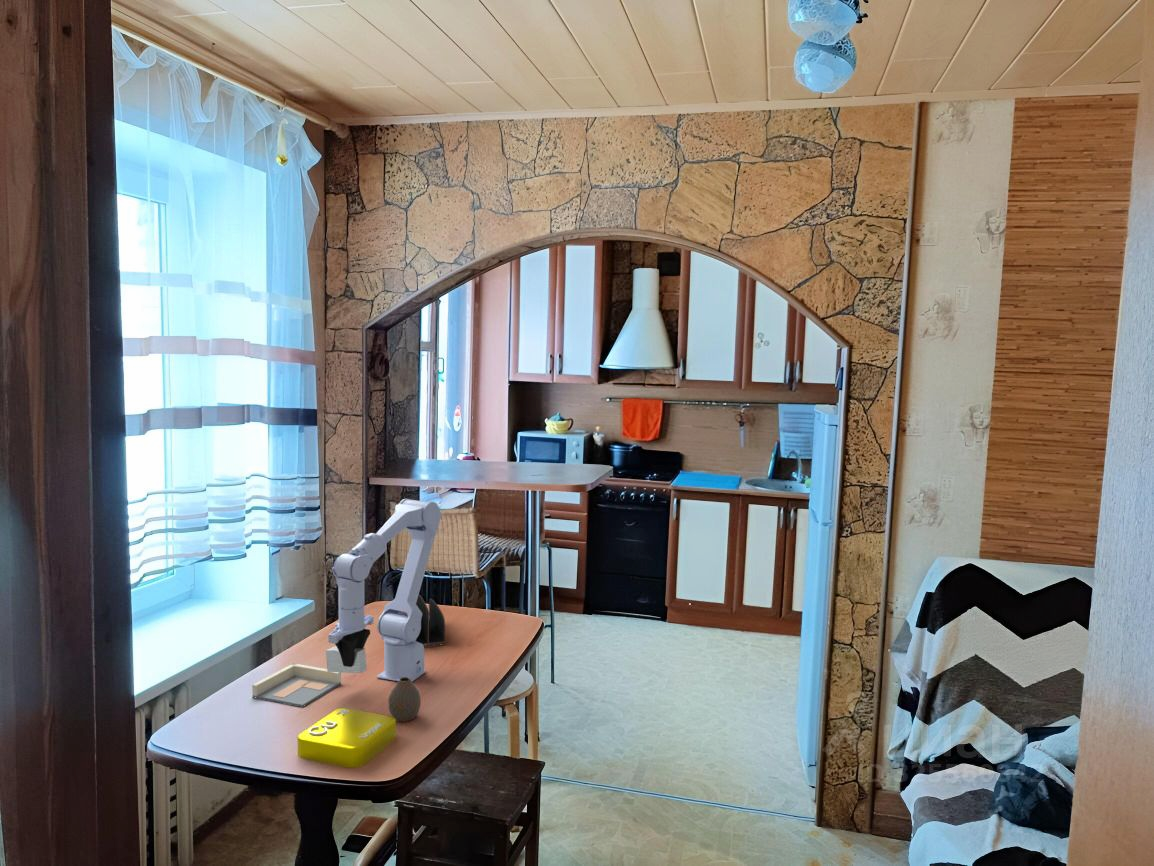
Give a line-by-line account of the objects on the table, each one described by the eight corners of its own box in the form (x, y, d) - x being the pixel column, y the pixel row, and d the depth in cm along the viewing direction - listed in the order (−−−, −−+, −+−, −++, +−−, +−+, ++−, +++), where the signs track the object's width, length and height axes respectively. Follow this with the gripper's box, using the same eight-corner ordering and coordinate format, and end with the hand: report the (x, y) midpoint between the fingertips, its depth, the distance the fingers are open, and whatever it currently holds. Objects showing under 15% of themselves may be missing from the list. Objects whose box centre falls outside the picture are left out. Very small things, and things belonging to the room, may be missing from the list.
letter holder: (409, 649, 211) (409, 599, 210) (397, 627, 230) (397, 580, 228) (445, 645, 215) (446, 595, 214) (431, 623, 233) (431, 577, 232)
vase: (393, 727, 166) (392, 687, 165) (385, 714, 172) (385, 676, 171) (424, 721, 169) (424, 682, 168) (415, 708, 175) (415, 671, 174)
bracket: (379, 662, 184) (377, 641, 184) (360, 673, 177) (358, 651, 176) (347, 661, 187) (345, 640, 187) (327, 671, 180) (325, 650, 179)
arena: (340, 683, 188) (340, 671, 187) (302, 707, 174) (302, 694, 174) (293, 675, 192) (293, 663, 192) (252, 697, 179) (252, 684, 179)
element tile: (358, 771, 148) (357, 747, 148) (293, 758, 153) (292, 734, 152) (400, 736, 162) (399, 714, 162) (339, 725, 167) (339, 703, 167)
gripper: (355, 595, 186) (356, 650, 187) (316, 613, 172) (317, 672, 173) (380, 598, 183) (381, 654, 185) (343, 617, 170) (343, 677, 171)
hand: (351, 663), depth 179 cm, fingers closed on bracket, 2 cm apart
